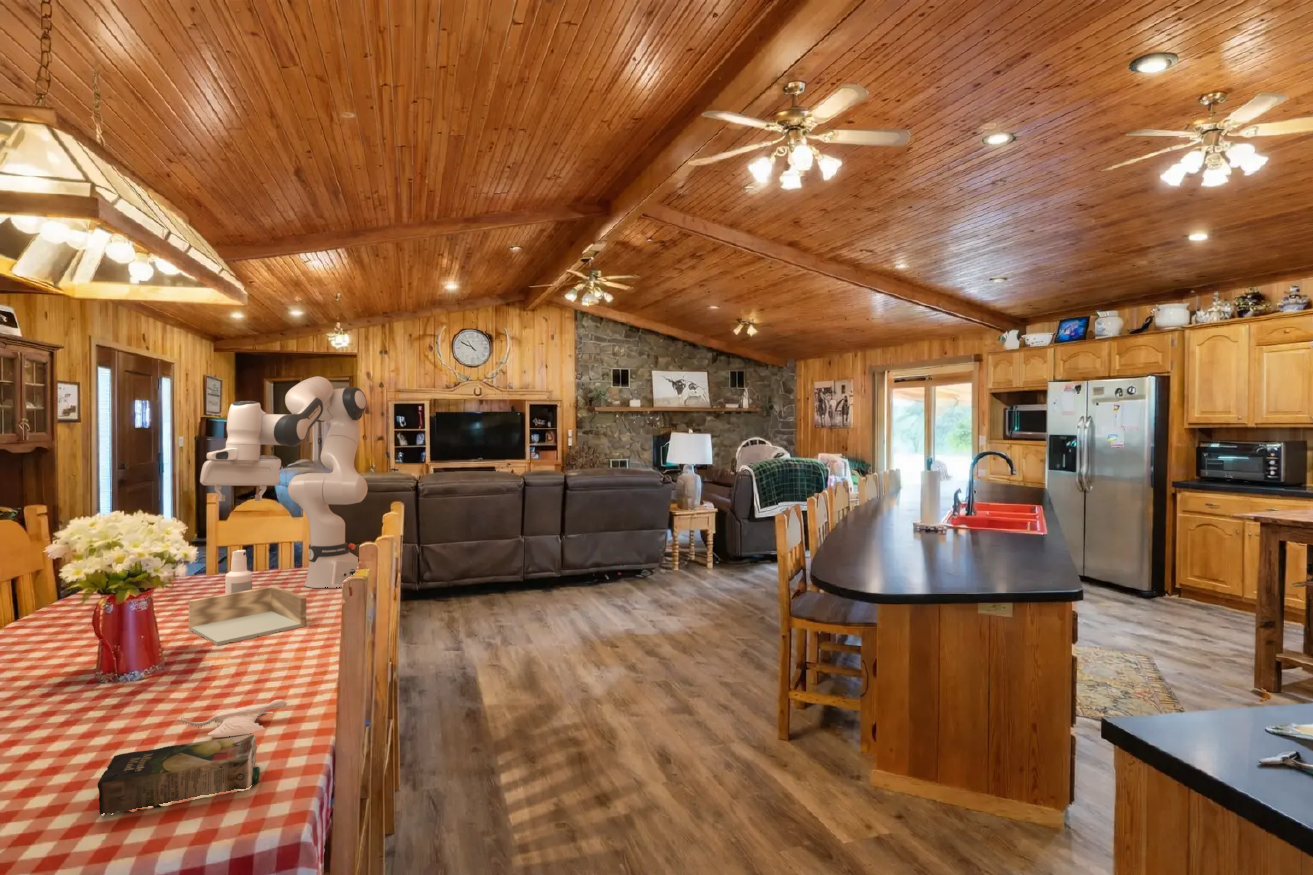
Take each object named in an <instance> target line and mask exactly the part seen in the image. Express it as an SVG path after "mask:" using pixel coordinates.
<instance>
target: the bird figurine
mask: <svg viewBox="0 0 1313 875" xmlns="http://www.w3.org/2000/svg"><path fill="white" fill-rule="evenodd" d="M287 705H288V702H287V701H286V700H285V699H283V698H282V699H275V700H272V701H271V702H269V703H265V704H263V703H261V704H254V705H247V706H244V707H238V708H235V709H234V708H232V709H231V708H230V709H228V710H224V711H221V712H219V713H216V714H215V715H213V716H212V717H211V718H209V719H208V720H204V721H201V722H200V721H199V722H196V721H195V722H193V721H190V720H187V719H185V717H184V715H182V716H181V718H180V719H176V720H177V721H179V722H181V723H183V724H187V725H190V726H192V727H196V728H198V729H199V728H202V727H205V726H207V725H210V724H211V723H212V722H215V723H216V722H218V723H217V724H216V727H215V729H213V730H212V731H209V732H208V733H207V736H209V737H213V738H230V737H238V736H246V735H251V734H250V733H253V732H255V731H259V732H261V731H263V729H264V730H267V729H266V728H270V729H272V727H271V726H268V727H266V728H265V727H264V726H263V725H260V723H259V722H255V721H256V719H258V717H261V716H262V715H267V714H266V713H268V714H273V713H274V711H269V710H273V709H274V710H275V709H280V708H284V707H287ZM266 711H268V712H266ZM260 730H261V731H260ZM229 736H230V737H229Z"/></svg>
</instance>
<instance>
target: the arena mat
mask: <svg viewBox="0 0 1313 875" xmlns="http://www.w3.org/2000/svg"><path fill="white" fill-rule="evenodd" d="M299 628H302V627H301V624H300V623H297V622H295V621H293V620H291V619H288V618H286V617H284V616H281V615H279V614H277V613H274V612H272V611H270V612H265V613H260V614H254V615H249V616H244V617H239V618H234V619H229V620H224V621H219V622H214V623H209V624H204V625H199V626H194V627H191V631H190V632H192V631H193V632H192V633H194V634H195V633H196V635H197V634H198V636H199V637H201V636H202V637H204V638H205V639H204V638H203V639H204V640H206V639H207V640H206V641H208V640H209V641H210V643H211V642H213V643H214V644H213V643H212V644H213V645H215V644H216V645H219V646H222V645H221V644H224V645H226V644H225V643H228V644H230V643H229V642H233V643H236V642H241V641H244V640H245V641H246V640H250V639H255V638H258V637H257V636H259V637H263V636H267V634H268V635H272V634H271V633H273V634H276V633H275V632H277V633H280V632H279V631H282V632H286V631H290V630H291V631H292V630H295V629H299ZM202 637H201V638H202ZM254 637H255V638H254ZM209 641H208V642H209ZM216 645H215V646H216Z"/></svg>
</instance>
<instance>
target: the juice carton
mask: <svg viewBox="0 0 1313 875" xmlns="http://www.w3.org/2000/svg"><path fill="white" fill-rule="evenodd" d="M257 741H258V739H257V734H246V735H237V736H231V737H222V738H218V739H210V740H203V741H196V742H189V743H182V744H175V745H174V744H173V745H169V746H163V747H160V748H156V749H155V748H154V749H149V750H139V751H131V752H125V753H119V754H117V755H114V756H113V757H112V759H111V761H110V763H109V765H108V766H107V767H106V769H105V771H104V772H103V774H102V775H101V777H100V779H99V780H98V782H97V788H98V795H99V796H98V801H99V802H98V803H99V814H100V816H102V815H101V814H103V813H105V814H106V815H108V814H109V815H110V814H112V813H114V814H116V812H122V811H124V812H129V811H128V810H132V809H136V808H142V807H148V806H155V807H158V806H157V805H159V804H163V803H168V802H171V801H179V800H183V799H188V798H191V797H197V796H200V795H209V794H215V793H219V792H226V791H231V790H234V789H246V788H249V787H250V786H251V785H253V784H255V785H256V784H258V782H259V781H260V775H261V770H260V767H259V766H256V765H257V762H256V761H257V750H258V746H257ZM255 764H256V765H255ZM253 786H254V785H253Z"/></svg>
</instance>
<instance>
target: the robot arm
mask: <svg viewBox="0 0 1313 875" xmlns="http://www.w3.org/2000/svg"><path fill="white" fill-rule="evenodd" d="M284 403H285V406H286V408H287V410H288V411H289V412H290V414H284V413H283V414H280V413H279V414H278V413H277V414H275V413H274V414H273V413H267V412H265V411H264V410H263V409H262V408H261V407H262V406H261V403H260V402H258V401H255V400H240V401H238V400H237V401H234V402H232V403H231V404H230V406H229V409H228V414H227V419H226V432H227V439H226V441H225V448H222V449H217V450H214V451H210V452H206V459H207V460H206V461H204V463H203V464H202V468H201V472H200V476H199V477H200V478H199V482H200V484H201V485H202V486H214V491H215V493H216V494H217V495H218V497H217V500H218V502H226V495H225V494H222V492H221V490H222V486H259V490H260V491H259V492H258V494H255V495H254V501H257V502H259V501H260V502H261V501H262V500H263V499H262V498H263V495H264V493H265V492H266V490H267V487H268V486H278V485H280V483H281V472H280V468H281V467H282V460H281V458H280V457H278V456H276V455H265V454H261V445H263V446H264V445H266V446H286V447H298V446H299V445H300V444H302V443H303V441H305V439H306V437H307V435H308V433H309V431H310V429H312V428H313V426H314V425H315V424H316V423H324V422H328V421H330V427H329V429H328V431H327V434H326V437H325V439H324V443H323V446H322V450H321V453H320V456H319V457H320V461H321V463H322V465H323V466H324V467H325V468H327V469H328V470H330V471H331V472H328V473H327V472H326V473H325V472H308V473H307V472H306V473H301V474H297V475H294V476H293V477H292V479H290V481H289V483H288V486H287V487H288V488H287V493H288V495H289V497H290V499H291V500H292V501H293V502H295V503H296V504H297V505H298V506H299V507H300V508H301V509H302V510H303V511H304V513H305V515H306V517H307V521H308V526H309V545H308V553H307V554H308V556H307V557H308V570H307V573H306V574H307V575H306V578H305V581H304V587H308V588H311V589H312V588H313V589H314V588H315V589H326V588H327V587H328V588H327V589H330V588H331V589H340V588H341V589H342V588H343V587H342V583H343V581H344V580H345V579H346V578H348V577H350V576H351V575H353V574H354V573H355V572H356V570H357V566H358V558H359V557H358V556H357V555H355V554H353V553H352V552H351V551H350V550H355V549H356V544H355V543H352V542H350V543H349V542H347V541H346V522H345V520H344V519H343V517H341V516H339V515H338V514H336V513H334V512H333V511H332V510H331V509H330V506H329V505H341V506H342V505H343V506H344V505H353V504H357V503H358V504H359V503H361V502H362V501H363V500H365V498H366V496H367V494H368V483H367V481H366V479H365V478H364V477H363V476H362V475H361V474H359V472H357V470H356V468H355V458H356V453H357V449H358V444H359V440H360V425H359V423H358V422H357V421H359V420H360V419H362V417H363V414H364V412H365V410H366V408H367V403H368V402H367V397H366V394H365V393H364V392H363V390H362V389H361V388H359V387H355V386H347V387H343V388H335V389H334V387H333V384H332V383H331V381H329V379H328V378H325V377H323V376H313V377H309V378H307V379H304V380H302V381H300V382H299V383H297V384H295V385H294V386H292V387H291V388H290V389H289V390H288V391H287V392H286V394H285V397H284ZM325 587H326V588H325ZM336 587H337V588H336ZM339 587H340V588H339Z"/></svg>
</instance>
